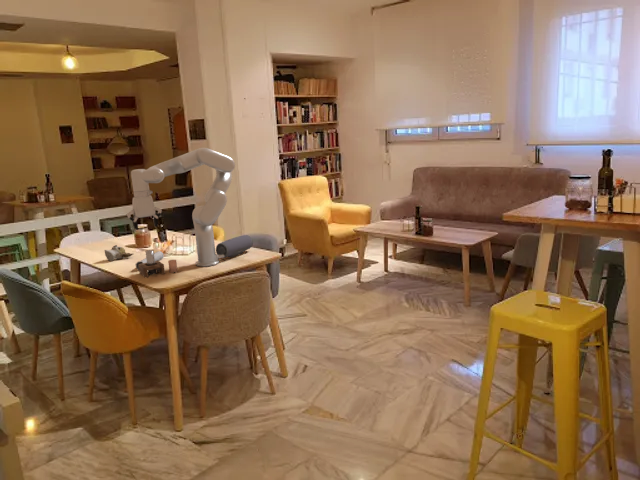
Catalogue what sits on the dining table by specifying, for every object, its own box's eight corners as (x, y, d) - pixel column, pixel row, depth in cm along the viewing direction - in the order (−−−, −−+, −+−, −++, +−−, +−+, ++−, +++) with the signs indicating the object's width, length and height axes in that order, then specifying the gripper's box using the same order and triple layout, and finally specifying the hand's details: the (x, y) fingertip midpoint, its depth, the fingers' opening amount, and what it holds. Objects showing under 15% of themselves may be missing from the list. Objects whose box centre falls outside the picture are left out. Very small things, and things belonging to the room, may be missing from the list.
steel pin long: (155, 271, 265) (152, 249, 262) (157, 273, 262) (154, 250, 259) (147, 273, 263) (144, 250, 260) (149, 275, 260) (146, 252, 257)
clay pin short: (176, 270, 266) (174, 259, 265) (178, 271, 263) (177, 260, 261) (168, 271, 264) (167, 260, 263) (170, 273, 261) (169, 262, 259)
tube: (155, 251, 293) (133, 263, 269) (163, 248, 292) (142, 260, 268) (158, 260, 294) (138, 272, 270) (166, 257, 293) (146, 269, 269)
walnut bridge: (158, 269, 269) (157, 260, 268) (164, 273, 261) (163, 264, 260) (139, 273, 264) (138, 264, 262) (145, 277, 255) (144, 268, 254)
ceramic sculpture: (99, 245, 292) (123, 242, 303) (100, 260, 293) (124, 256, 305) (109, 248, 285) (133, 244, 296) (110, 263, 287) (134, 258, 298)
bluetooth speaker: (241, 249, 302) (240, 233, 300) (254, 251, 297) (253, 234, 295) (215, 259, 283) (214, 241, 281) (228, 260, 278) (227, 243, 276)
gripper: (156, 191, 261) (161, 224, 264) (122, 195, 251) (127, 229, 255) (161, 192, 254) (165, 226, 258) (126, 197, 245) (131, 231, 249)
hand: (146, 227), depth 257 cm, fingers open, 9 cm apart
